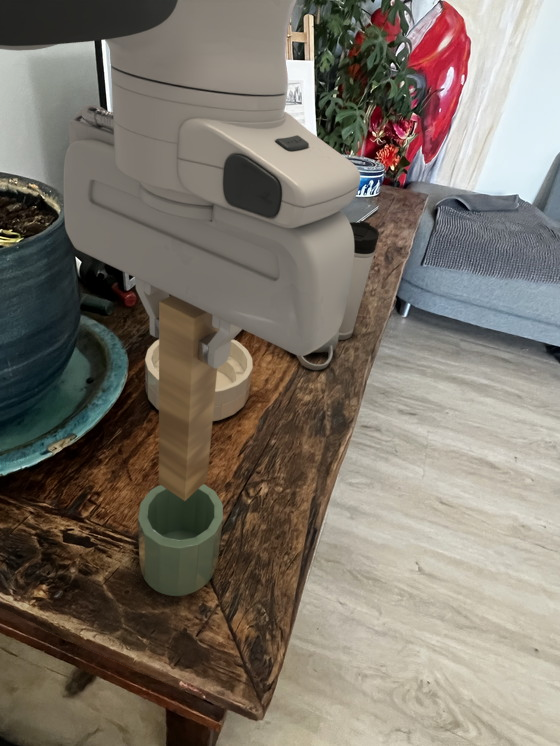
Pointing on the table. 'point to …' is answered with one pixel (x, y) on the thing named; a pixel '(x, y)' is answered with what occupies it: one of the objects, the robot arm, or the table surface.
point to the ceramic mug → (325, 348)
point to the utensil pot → (179, 539)
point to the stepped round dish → (228, 381)
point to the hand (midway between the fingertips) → (189, 348)
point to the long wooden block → (184, 397)
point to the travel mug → (358, 273)
